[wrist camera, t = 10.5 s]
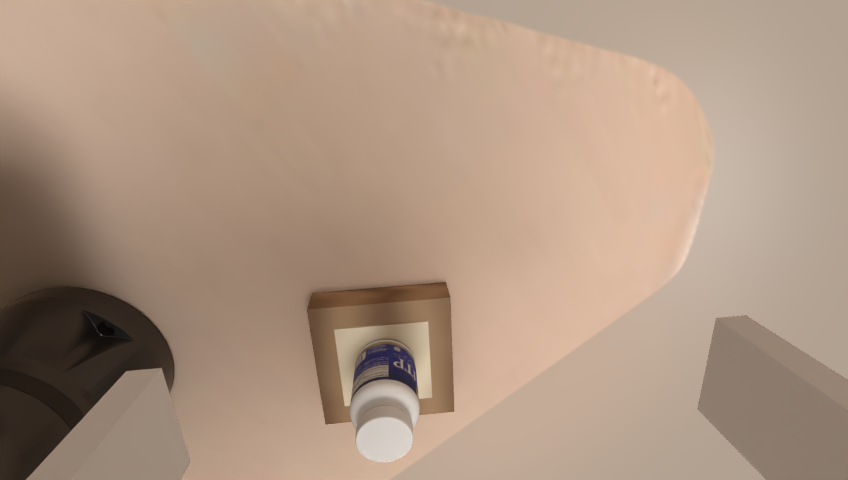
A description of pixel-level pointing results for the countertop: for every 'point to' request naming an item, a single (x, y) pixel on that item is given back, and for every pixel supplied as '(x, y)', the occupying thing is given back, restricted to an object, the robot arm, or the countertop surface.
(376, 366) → the pill bottle
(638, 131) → the countertop surface
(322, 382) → the stand
